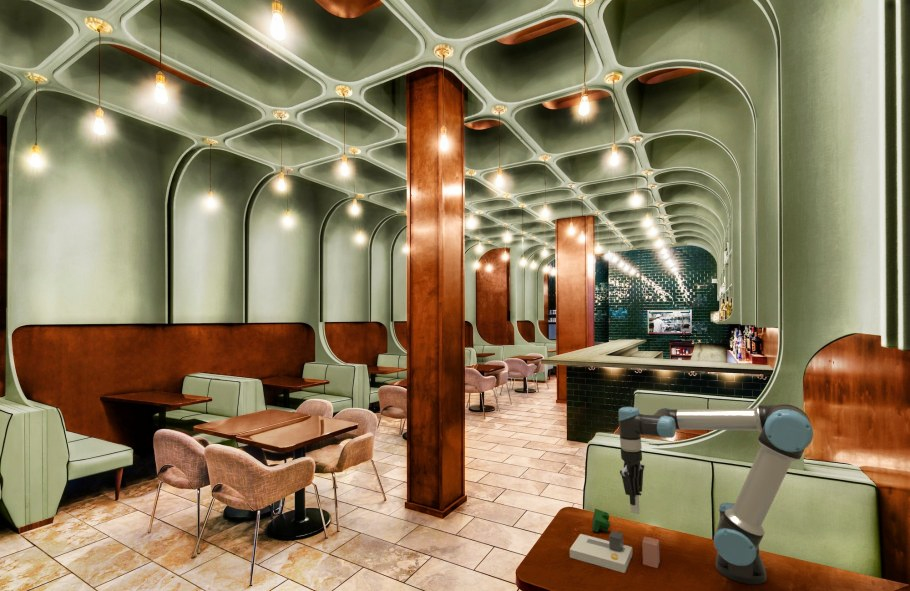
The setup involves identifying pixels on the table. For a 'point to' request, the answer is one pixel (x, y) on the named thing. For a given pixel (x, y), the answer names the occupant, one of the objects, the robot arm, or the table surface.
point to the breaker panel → (600, 553)
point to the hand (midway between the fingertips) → (635, 512)
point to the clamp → (600, 521)
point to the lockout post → (651, 552)
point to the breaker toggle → (616, 541)
